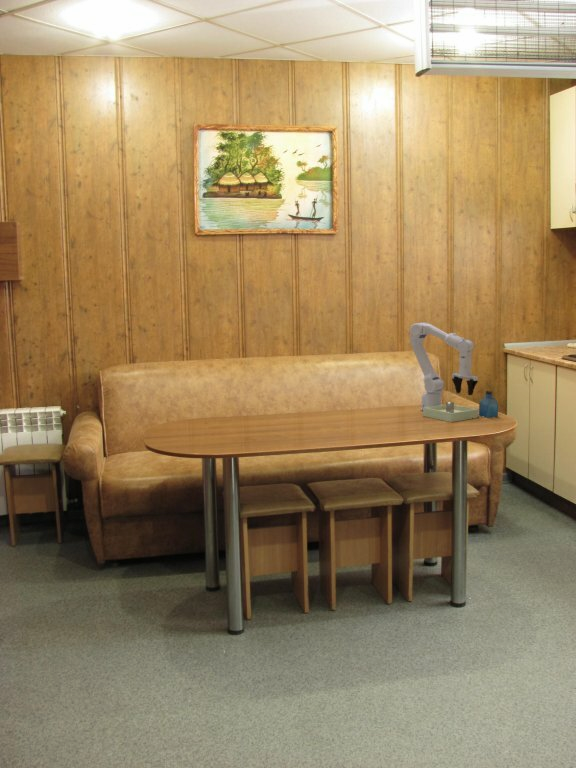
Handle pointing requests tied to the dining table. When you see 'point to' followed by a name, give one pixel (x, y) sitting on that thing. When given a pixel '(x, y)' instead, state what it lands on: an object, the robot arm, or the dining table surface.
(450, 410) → the peg
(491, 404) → the perfume bottle
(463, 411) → the box
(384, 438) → the dining table surface
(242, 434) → the dining table surface
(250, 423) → the dining table surface
